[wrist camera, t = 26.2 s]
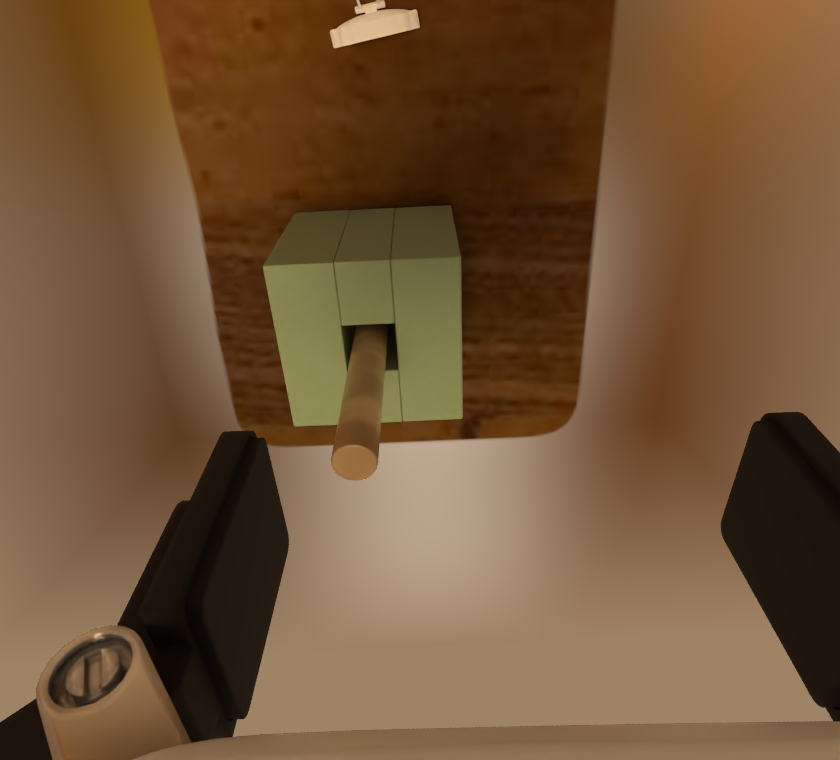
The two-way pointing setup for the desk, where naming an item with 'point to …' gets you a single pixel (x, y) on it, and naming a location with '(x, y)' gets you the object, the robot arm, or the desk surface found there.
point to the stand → (369, 308)
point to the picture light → (374, 24)
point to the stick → (362, 405)
